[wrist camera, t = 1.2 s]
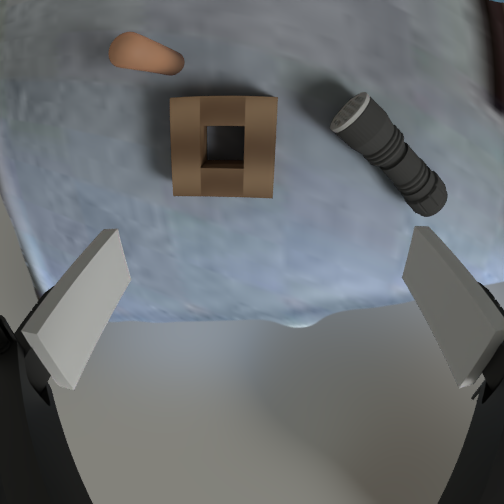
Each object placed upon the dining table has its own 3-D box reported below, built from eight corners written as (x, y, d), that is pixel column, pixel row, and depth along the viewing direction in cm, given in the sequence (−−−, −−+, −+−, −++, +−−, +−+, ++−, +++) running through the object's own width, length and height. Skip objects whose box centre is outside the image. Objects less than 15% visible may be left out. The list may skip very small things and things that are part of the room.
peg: (159, 53, 26) (109, 36, 15) (184, 50, 26) (144, 28, 15) (159, 76, 27) (108, 70, 16) (184, 74, 27) (143, 64, 16)
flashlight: (437, 180, 32) (459, 195, 27) (410, 210, 34) (430, 228, 29) (356, 91, 27) (373, 92, 23) (325, 126, 30) (337, 132, 25)
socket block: (180, 97, 28) (169, 98, 25) (275, 97, 28) (277, 97, 25) (182, 184, 33) (173, 196, 30) (271, 186, 33) (272, 198, 30)
